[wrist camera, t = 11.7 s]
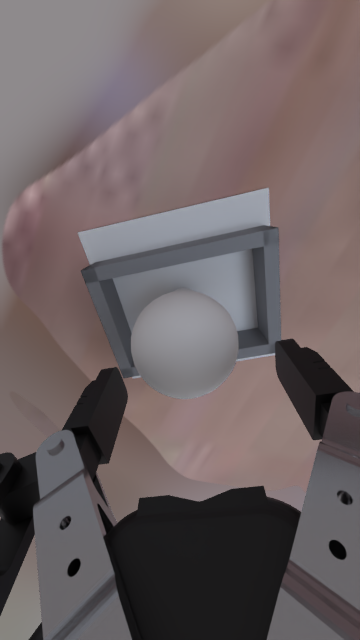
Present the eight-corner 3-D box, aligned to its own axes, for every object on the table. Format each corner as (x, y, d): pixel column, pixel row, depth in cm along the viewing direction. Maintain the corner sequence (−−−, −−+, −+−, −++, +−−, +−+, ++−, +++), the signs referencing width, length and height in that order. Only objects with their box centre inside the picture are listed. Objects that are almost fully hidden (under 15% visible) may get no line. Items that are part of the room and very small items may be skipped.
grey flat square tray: (266, 188, 17) (285, 182, 14) (273, 352, 23) (287, 374, 20) (79, 232, 18) (59, 236, 15) (133, 376, 25) (126, 399, 22)
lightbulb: (230, 305, 21) (275, 390, 11) (176, 339, 22) (171, 441, 12) (192, 249, 19) (204, 287, 9) (135, 290, 20) (89, 364, 10)
